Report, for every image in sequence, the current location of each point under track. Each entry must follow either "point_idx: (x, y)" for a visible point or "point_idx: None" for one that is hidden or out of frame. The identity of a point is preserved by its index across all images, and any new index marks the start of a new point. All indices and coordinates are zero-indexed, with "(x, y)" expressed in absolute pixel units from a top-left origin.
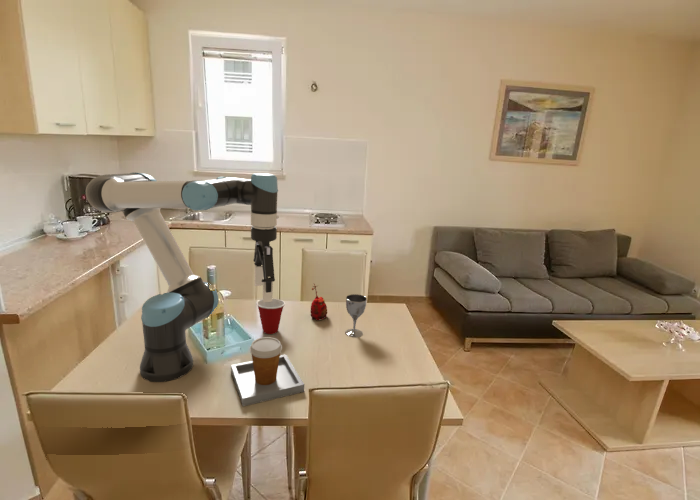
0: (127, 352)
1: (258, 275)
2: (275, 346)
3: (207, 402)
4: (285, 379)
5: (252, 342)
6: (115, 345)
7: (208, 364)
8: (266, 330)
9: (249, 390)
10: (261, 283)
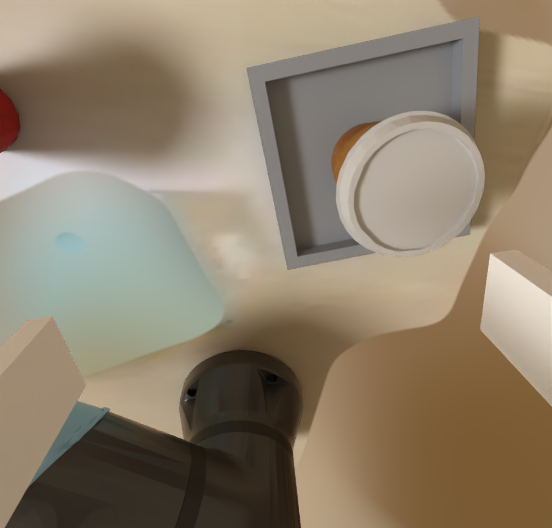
0: None
1: (3, 464)
2: (441, 149)
3: (408, 304)
4: (386, 88)
5: (383, 252)
6: None
7: (236, 316)
8: (11, 138)
9: None
10: (51, 349)
